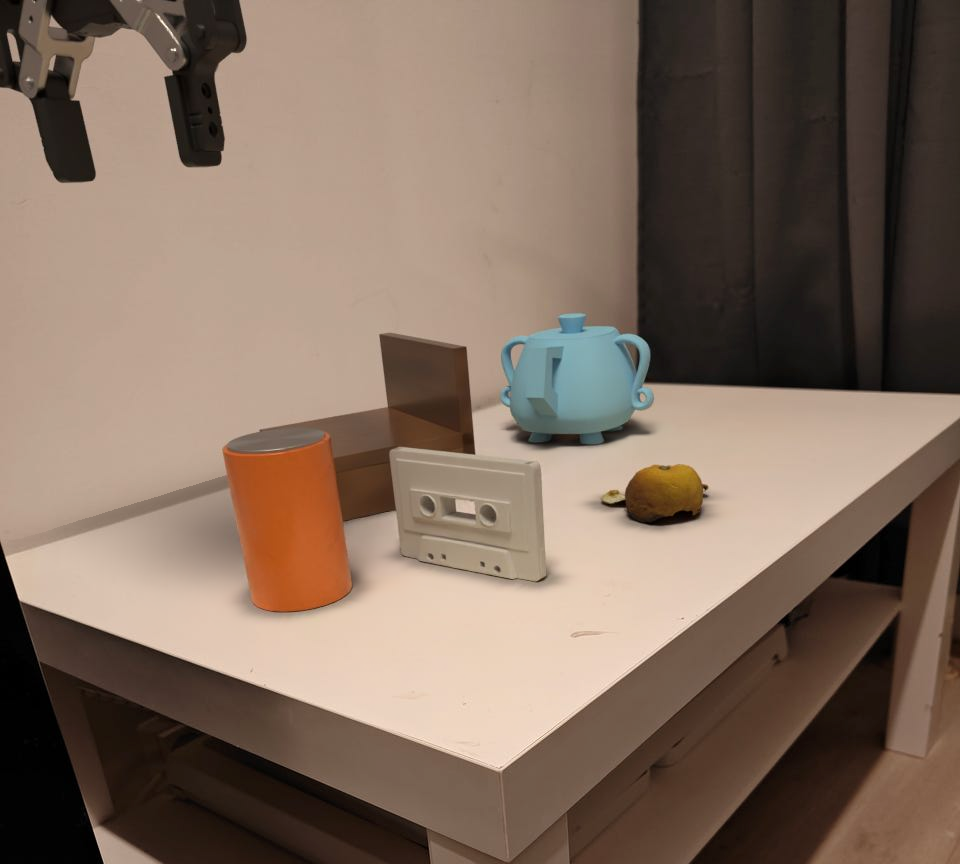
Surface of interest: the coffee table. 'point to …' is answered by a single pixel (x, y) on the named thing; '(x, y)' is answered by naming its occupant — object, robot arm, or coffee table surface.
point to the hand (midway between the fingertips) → (137, 174)
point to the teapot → (575, 380)
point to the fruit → (660, 492)
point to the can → (289, 518)
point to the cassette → (470, 537)
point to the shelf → (400, 420)
